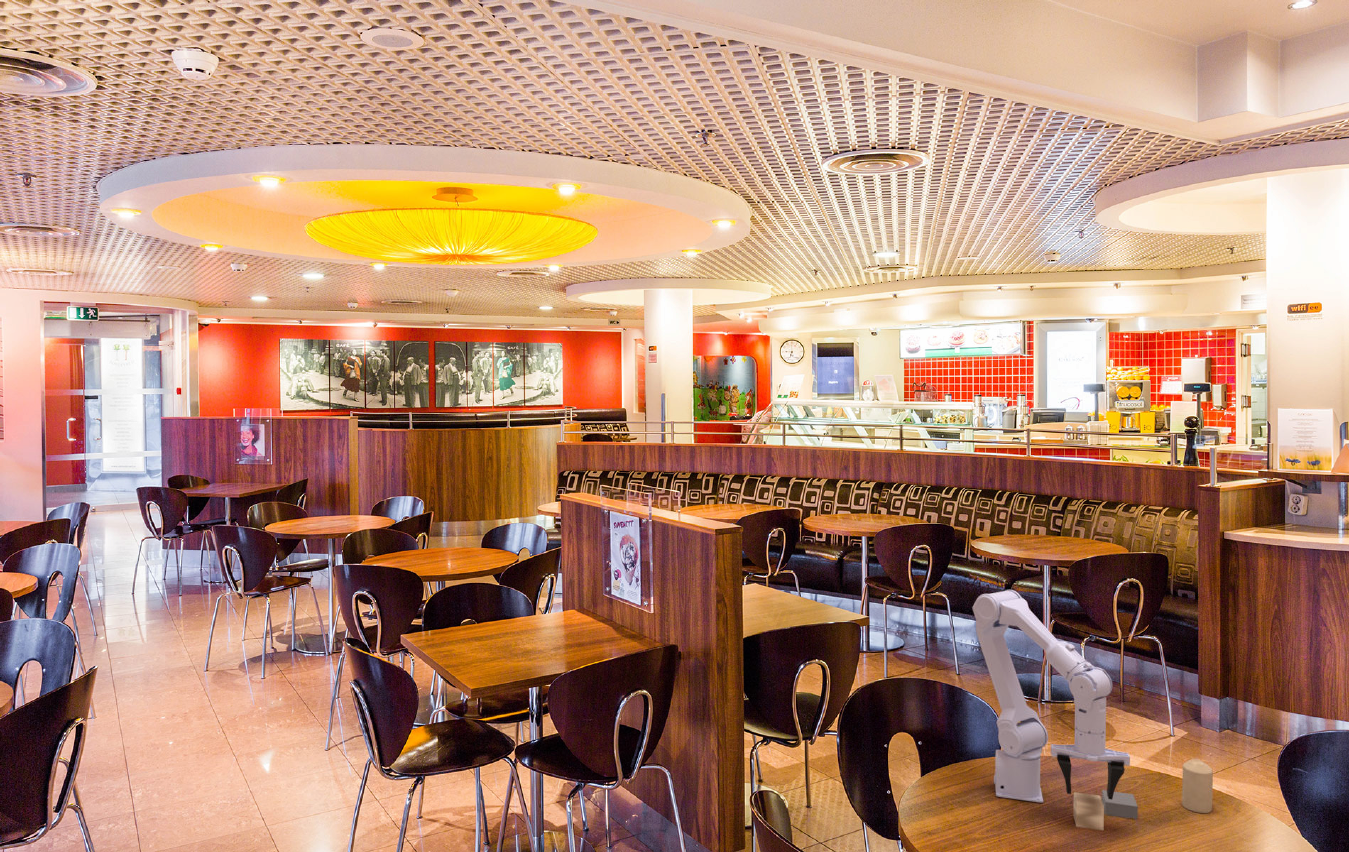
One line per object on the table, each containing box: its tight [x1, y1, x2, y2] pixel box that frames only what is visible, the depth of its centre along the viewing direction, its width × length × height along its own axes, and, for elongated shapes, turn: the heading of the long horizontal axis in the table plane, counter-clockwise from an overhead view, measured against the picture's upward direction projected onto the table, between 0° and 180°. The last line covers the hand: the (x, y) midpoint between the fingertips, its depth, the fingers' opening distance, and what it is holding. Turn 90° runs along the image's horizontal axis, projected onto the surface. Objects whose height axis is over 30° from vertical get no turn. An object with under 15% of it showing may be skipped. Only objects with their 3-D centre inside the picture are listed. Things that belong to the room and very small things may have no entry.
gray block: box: [1101, 789, 1139, 820], centre depth 184 cm, size 6×6×3 cm
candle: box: [1181, 758, 1214, 814], centre depth 185 cm, size 6×6×10 cm
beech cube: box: [1072, 791, 1105, 831], centre depth 178 cm, size 5×5×5 cm
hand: (1089, 794), depth 178 cm, fingers open, 7 cm apart
